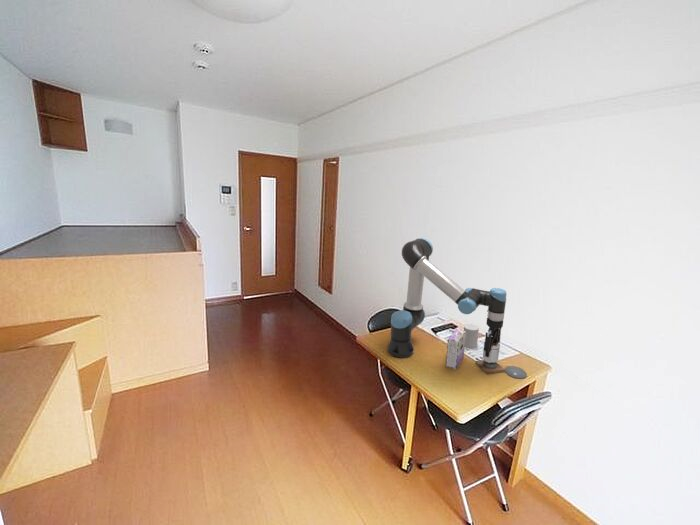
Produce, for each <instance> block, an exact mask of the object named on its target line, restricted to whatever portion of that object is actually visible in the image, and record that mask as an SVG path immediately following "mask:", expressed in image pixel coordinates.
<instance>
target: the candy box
mask: <svg viewBox="0 0 700 525" xmlns="http://www.w3.org/2000/svg"><path fill="white" fill-rule="evenodd" d="M465 335H466V331H464V330H462V329H457V328H455V329H454V331H453V332H452V333H451V334H450V336H449V337H448V338H447V346H446V360H445V367H448V368H450V369H452V370H453V369H454V370H457V369H458V367H459V366H460V364H461V363H462V360H463V359H464V357H465V348H466V347H465Z"/></svg>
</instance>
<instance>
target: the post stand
mask: <svg viewBox="0 0 700 525" xmlns="http://www.w3.org/2000/svg"><path fill="white" fill-rule="evenodd" d="M475 365H476V366H477V367H478V368H479V369H480V370H482V371H483V373H484V374H486V375H491V374H492V375H493V374H498V373H499V374H500V373H505V367H504V368H503V366H501V365H500V364H499V363H498V361H497V362H490V363H488V362H486V361H484V359H481V360H476V361H475Z"/></svg>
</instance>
